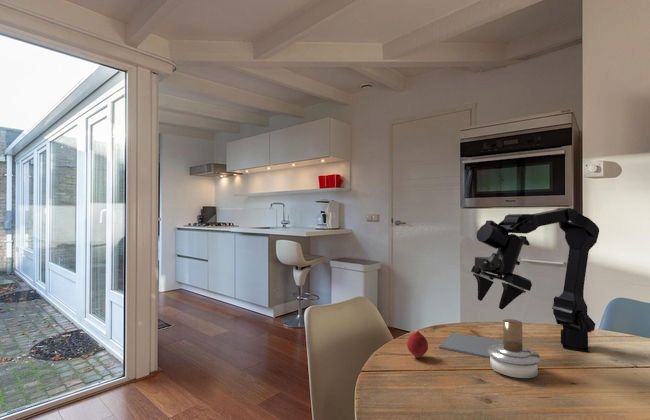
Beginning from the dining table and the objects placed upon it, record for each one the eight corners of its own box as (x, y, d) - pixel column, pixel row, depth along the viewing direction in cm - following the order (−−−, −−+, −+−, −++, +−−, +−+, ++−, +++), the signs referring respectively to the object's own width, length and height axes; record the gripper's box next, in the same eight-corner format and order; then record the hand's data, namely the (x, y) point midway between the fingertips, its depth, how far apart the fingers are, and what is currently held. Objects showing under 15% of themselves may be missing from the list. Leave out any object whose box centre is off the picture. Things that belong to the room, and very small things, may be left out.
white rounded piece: (539, 369, 93) (538, 353, 93) (536, 385, 84) (536, 368, 84) (493, 359, 99) (493, 345, 99) (486, 374, 90) (486, 358, 90)
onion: (425, 354, 103) (425, 327, 103) (429, 362, 98) (429, 333, 98) (406, 353, 104) (405, 326, 104) (408, 361, 98) (408, 332, 98)
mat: (503, 343, 112) (503, 341, 112) (495, 359, 99) (495, 357, 99) (452, 334, 121) (452, 332, 121) (439, 348, 108) (439, 346, 108)
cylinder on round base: (541, 353, 93) (540, 319, 93) (538, 369, 83) (537, 331, 83) (491, 344, 100) (491, 313, 100) (484, 358, 90) (483, 323, 90)
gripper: (465, 241, 110) (448, 287, 109) (508, 247, 92) (488, 303, 90) (494, 254, 112) (477, 299, 111) (541, 262, 94) (522, 317, 92)
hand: (489, 304), depth 101 cm, fingers open, 9 cm apart
